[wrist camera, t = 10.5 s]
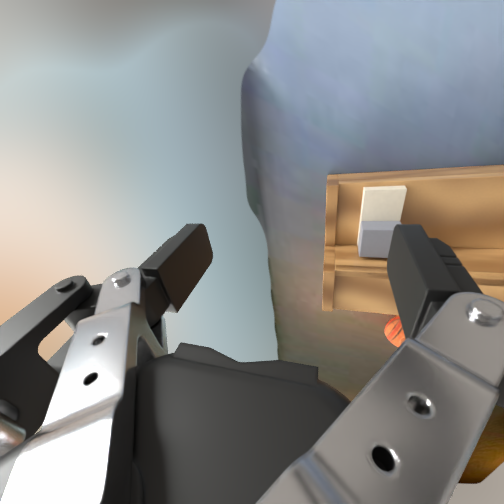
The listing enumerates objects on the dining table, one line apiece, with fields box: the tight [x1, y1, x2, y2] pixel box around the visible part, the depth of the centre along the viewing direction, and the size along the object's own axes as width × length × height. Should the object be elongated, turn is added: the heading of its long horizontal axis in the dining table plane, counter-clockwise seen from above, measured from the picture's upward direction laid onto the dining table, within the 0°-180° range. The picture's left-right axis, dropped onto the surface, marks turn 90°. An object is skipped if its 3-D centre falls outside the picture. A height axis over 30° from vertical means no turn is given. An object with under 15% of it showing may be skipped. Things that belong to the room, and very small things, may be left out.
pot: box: [384, 315, 406, 347], centre depth 41 cm, size 8×8×7 cm
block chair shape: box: [357, 185, 407, 258], centre depth 29 cm, size 8×4×4 cm, turn 9°
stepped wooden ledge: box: [322, 165, 504, 315], centre depth 30 cm, size 16×23×11 cm
